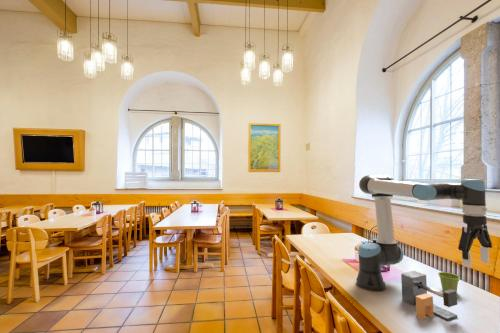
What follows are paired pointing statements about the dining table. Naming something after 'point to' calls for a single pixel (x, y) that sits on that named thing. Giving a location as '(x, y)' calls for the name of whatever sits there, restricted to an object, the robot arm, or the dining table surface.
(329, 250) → the dining table surface
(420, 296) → the block
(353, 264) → the dining table surface
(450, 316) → the block
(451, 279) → the plant pot
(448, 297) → the shaft
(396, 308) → the dining table surface
